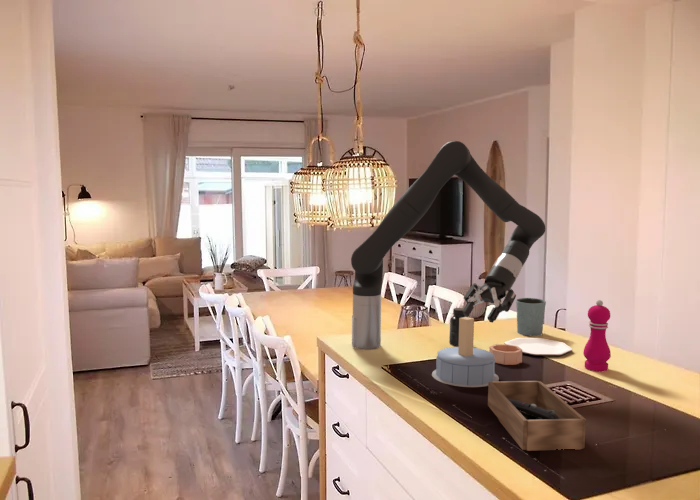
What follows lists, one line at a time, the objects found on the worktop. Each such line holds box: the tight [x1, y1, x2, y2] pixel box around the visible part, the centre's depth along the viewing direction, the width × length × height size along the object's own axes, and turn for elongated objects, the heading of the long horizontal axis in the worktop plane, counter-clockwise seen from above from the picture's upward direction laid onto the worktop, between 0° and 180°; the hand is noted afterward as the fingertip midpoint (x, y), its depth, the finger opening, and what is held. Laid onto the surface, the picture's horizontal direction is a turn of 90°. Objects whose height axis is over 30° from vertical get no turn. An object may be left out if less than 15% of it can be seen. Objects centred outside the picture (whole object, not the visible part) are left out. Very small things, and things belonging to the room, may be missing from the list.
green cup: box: [515, 297, 547, 337], centre depth 207 cm, size 10×10×12 cm
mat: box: [431, 369, 500, 388], centre depth 158 cm, size 18×18×1 cm
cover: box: [435, 316, 496, 385], centre depth 158 cm, size 15×15×16 cm
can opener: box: [507, 398, 559, 420], centre depth 126 cm, size 18×7×6 cm, turn 25°
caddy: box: [487, 380, 587, 452], centre depth 126 cm, size 13×24×6 cm, turn 4°
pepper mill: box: [582, 299, 611, 372], centre depth 166 cm, size 7×7×20 cm
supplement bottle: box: [448, 307, 465, 347], centre depth 191 cm, size 7×7×12 cm
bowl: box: [489, 343, 523, 366], centre depth 173 cm, size 9×9×4 cm
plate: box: [504, 337, 573, 357], centre depth 187 cm, size 20×20×2 cm
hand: (477, 317), depth 160 cm, fingers open, 8 cm apart
